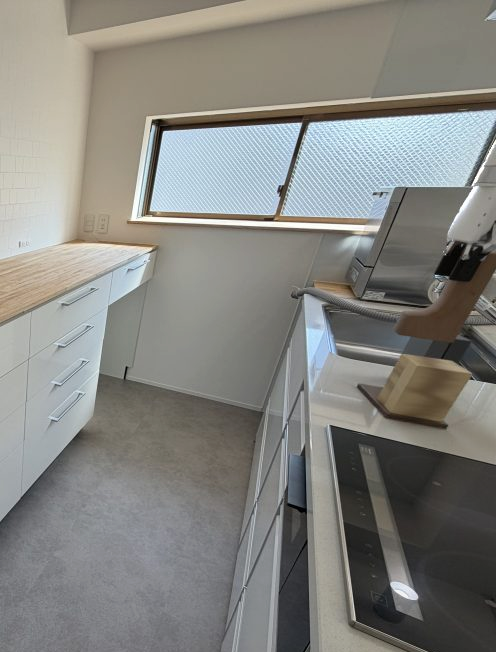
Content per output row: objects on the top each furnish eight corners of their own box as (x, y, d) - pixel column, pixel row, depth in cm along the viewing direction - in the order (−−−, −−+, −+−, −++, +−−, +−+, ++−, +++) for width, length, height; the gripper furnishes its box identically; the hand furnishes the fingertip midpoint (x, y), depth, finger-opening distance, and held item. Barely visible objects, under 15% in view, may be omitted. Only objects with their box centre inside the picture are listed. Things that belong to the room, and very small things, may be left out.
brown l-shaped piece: (397, 335, 89) (442, 249, 81) (391, 329, 93) (433, 246, 85) (453, 343, 86) (506, 254, 78) (445, 337, 89) (494, 251, 81)
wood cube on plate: (408, 395, 97) (435, 348, 91) (446, 429, 83) (481, 376, 78) (356, 386, 100) (380, 340, 94) (385, 417, 87) (414, 366, 81)
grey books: (418, 381, 104) (451, 325, 97) (437, 396, 97) (474, 336, 90) (388, 376, 106) (418, 321, 99) (404, 391, 99) (438, 332, 92)
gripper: (570, 178, 67) (503, 289, 76) (501, 179, 81) (451, 273, 90) (509, 176, 70) (450, 284, 78) (452, 178, 84) (407, 269, 92)
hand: (451, 277), depth 84 cm, fingers closed on brown l-shaped piece, 4 cm apart
